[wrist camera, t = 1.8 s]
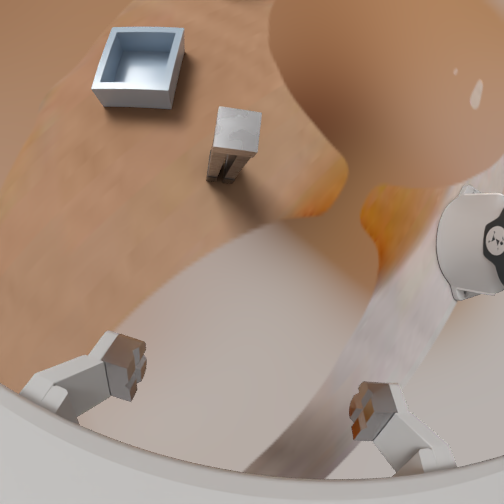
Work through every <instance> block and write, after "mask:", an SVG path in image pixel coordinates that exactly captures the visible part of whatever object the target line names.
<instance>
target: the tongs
mask: <svg viewBox="0 0 504 504" xmlns="http://www.w3.org/2000/svg"><path fill="white" fill-rule="evenodd" d="M261 115H262V113H260V112H254V111H248V110H241V109H234V108H227V107H220V106H219V110H218V114H217V121H216V127H215V134H214V139H213V144H212V149H211V151H210V156H209V163H208V171H207V179H206V181H213V182H216V181H217V178H218V174H219V171H220V169H221V167H222V164H223V162H224V159H225V164H224V172H223V180H222V183H230V184H232V183H233V182H234V180H235V177H236V176H237V175H238V174H239V172H240V171H241V170H242V168H243V167H244V166H245V164H246V163H247V162H248V161H249V159H250V158H251V157H252V158H253V157H254V156H255V155H256V153H257V152H258V142H259V133H260V124H261Z"/></svg>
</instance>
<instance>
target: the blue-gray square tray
mask: <svg viewBox="0 0 504 504" xmlns="http://www.w3.org/2000/svg"><path fill="white" fill-rule="evenodd" d="M184 52H185V49H184V28H171V27H114V28H112V30H111V33H110V35H109V38H108V40H107V43H106V46H105V48H104V51H103V54H102V57H101V60H100V63H99V66H98V69H97V72H96V75H95V78H94V81H93V85H92V88H91V89H92V91H93V92H94V94H95V95H96V97H97V98H98V99H99V101H100V102H101V104H102V105H103V106H104V107H142V108H160V109H172V104H173V100H174V95H175V90H176V85H177V81H178V77H179V72H180V68H181V64H182V60H183V56H184Z"/></svg>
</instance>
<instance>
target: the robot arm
mask: <svg viewBox="0 0 504 504" xmlns="http://www.w3.org/2000/svg"><path fill="white" fill-rule="evenodd" d="M437 255H438V261H439V265H440V268H441V270H442V272H443V274H444V276H445V278H446V279H447V280H448V282H449V283H450V285H451V289H452V293H453V296H454V299H455V300H464V299H468V298H471V297H474V296H476V295H480V294H486V295H495V294H496V293H499V292H501V291H503V290H504V196H503V194H501V193H481V192H479V191H478V190H477V189H475V188H474V187H473V186H471V185H464V186H463V188H462V189H461V192H460V194H459V196H458V197H457V198H456V199H454V200H453V201H452V202H450V203H449V205H448V206H447V207H446V209H445V210H444V212H443V214H442V217H441V219H440V223H439V227H438V232H437ZM145 351H146V343H145V342H144V341H141V340H138V339H135V338H132V337H128V336H125V335H122V334H118V333H116V332H113V331H110V330H108V331H106V332H105V333H104V335H103V336H102V337H101V339H100V340H99V341H98V343H97V344H96V345H95V347H94V348H93V349H92V351H91V352H90V353H89V355H88V356H87V355H83V356H80V357H77V358H75V359H72V360H70V361H67V362H64V363H62V364H59V365H57V366H54V367H51V368H49V369H46V370H43V371H41V372H38V373H35V374H34V376H33V377H32V378H31V379H30V381H29V382H28V383H27V384H26V386H25V387H24V388H23V389H22V391H21V392H20V393H19V394H18V393H16V392H14V391H13V390H11V389H9V388H8V387H6V386H5V385H3V384H1V383H0V504H504V455H503V456H500V457H497V458H493V459H490V460H486V461H482V462H478V463H474V464H470V465H466V466H462V467H457V466H456V463H455V460H454V457H453V454H452V451H451V449H450V446H449V444H447V443H446V442H445V441H444V440H443V439H442V438H441V437H439V436H438V435H437V434H436V433H435V432H434V431H433V430H432V429H430V428H429V427H428V426H427V425H426V424H424V422H422V421H421V420H420V419H419V418H418V417H417V416H416V415H414V414H413V413H410V412H409V410H408V407H407V404H406V401H405V398H404V395H403V393H402V390H401V387H400V385H399V384H398V383H381V382H365V381H364V382H362V383H361V384H360V386H359V388H358V389H359V393H358V394H356V395H354V396H353V398H352V400H351V403H350V407H349V416H350V419H351V420H352V421H353V422H354V424H353V425H352V427H351V428H352V434H353V440H358V441H373V443H374V444H375V445H376V447H377V448H378V449H379V451H380V452H381V453H382V455H383V456H384V457H385V458H386V460H387V461H388V462H389V464H390V465H391V466H392V467H393V469H394V470H395V471H396V474H395V475H393V476H392V477H387V478H373V479H346V480H345V479H344V480H343V479H342V480H341V479H340V480H337V479H303V478H288V477H277V476H267V475H259V474H251V473H244V472H238V471H231V470H226V469H220V468H215V467H210V466H205V465H201V464H196V463H192V462H187V461H183V460H179V459H176V458H172V457H168V456H164V455H160V454H157V453H154V452H151V451H147V450H144V449H141V448H138V447H135V446H132V445H129V444H126V443H123V442H121V441H118V440H115V439H112V438H110V437H107V436H104V435H102V434H99V433H97V432H94V431H92V430H90V429H87V428H85V427H83V426H80V424H79V422H78V419H77V417H78V416H80V415H81V414H83V413H84V412H86V411H88V410H89V409H91V408H93V407H94V406H96V405H98V404H99V403H101V402H103V401H104V400H106V399H107V398H109V397H110V395H111V396H114V397H117V398H120V399H123V400H126V401H130V402H131V401H132V399H133V397H134V395H135V393H136V391H137V383H139V382H141V381H142V379H143V377H144V374H145V370H146V363H147V360H146V357H145V356H144V353H145Z"/></svg>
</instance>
